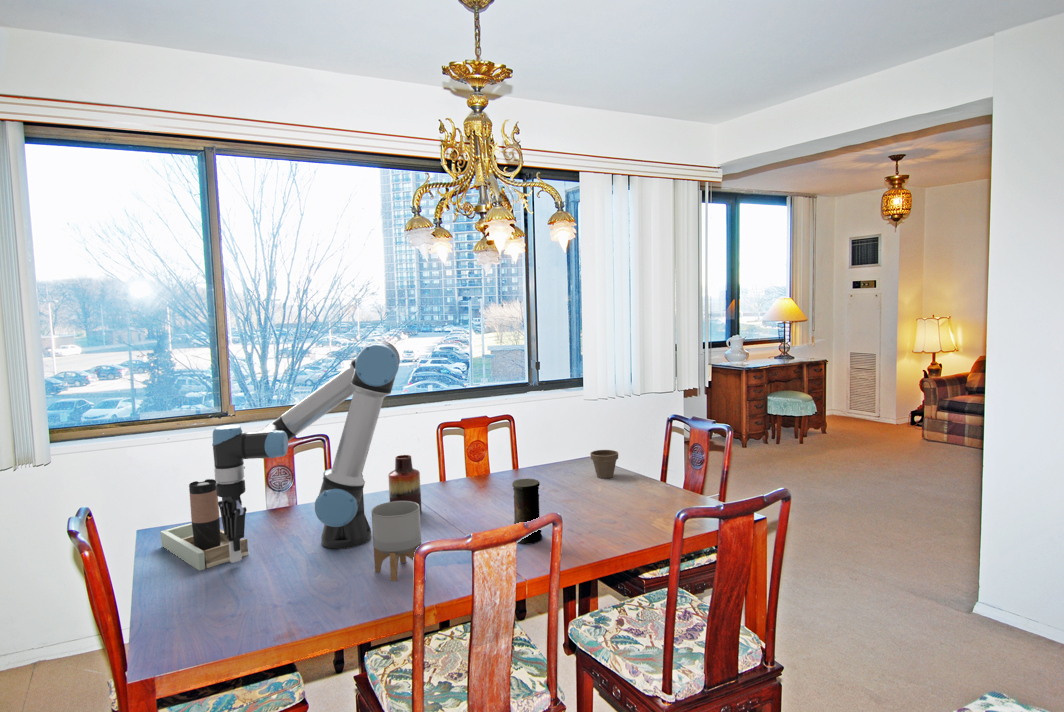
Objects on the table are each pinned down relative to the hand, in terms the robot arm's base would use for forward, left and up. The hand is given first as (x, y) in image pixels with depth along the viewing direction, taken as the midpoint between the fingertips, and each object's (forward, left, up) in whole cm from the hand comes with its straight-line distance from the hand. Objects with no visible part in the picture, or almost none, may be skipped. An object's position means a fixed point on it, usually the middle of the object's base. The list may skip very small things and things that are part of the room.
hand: (235, 560), depth 185 cm
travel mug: (+19, 0, -1) cm, 20 cm away
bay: (+20, 0, -2) cm, 20 cm away
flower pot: (-33, -136, -2) cm, 140 cm away
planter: (-40, -27, -2) cm, 48 cm away
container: (-53, -66, -2) cm, 85 cm away
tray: (+15, 0, -2) cm, 16 cm away
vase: (-3, -58, -2) cm, 58 cm away
